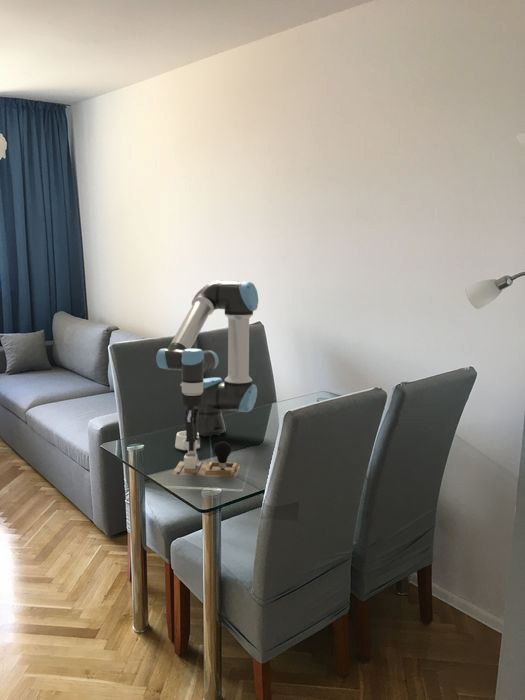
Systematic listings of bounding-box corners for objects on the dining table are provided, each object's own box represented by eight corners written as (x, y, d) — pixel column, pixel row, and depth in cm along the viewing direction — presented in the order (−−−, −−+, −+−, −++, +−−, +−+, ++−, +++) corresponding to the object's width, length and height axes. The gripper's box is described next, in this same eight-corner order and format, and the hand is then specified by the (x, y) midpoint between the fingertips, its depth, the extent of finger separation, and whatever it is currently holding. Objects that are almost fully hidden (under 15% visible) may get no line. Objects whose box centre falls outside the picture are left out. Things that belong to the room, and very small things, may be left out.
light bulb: (211, 470, 205) (211, 442, 204) (218, 465, 210) (218, 438, 209) (226, 473, 203) (227, 444, 201) (233, 468, 208) (233, 440, 207)
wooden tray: (180, 463, 215) (180, 457, 214) (240, 466, 213) (240, 460, 213) (171, 476, 201) (171, 471, 200) (236, 479, 199) (236, 474, 199)
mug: (179, 444, 238) (179, 429, 237) (202, 445, 237) (202, 430, 236) (170, 453, 226) (170, 437, 225) (195, 454, 225) (195, 439, 224)
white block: (186, 464, 210) (186, 452, 210) (197, 465, 210) (197, 452, 209) (183, 468, 206) (183, 455, 206) (195, 469, 206) (195, 456, 206)
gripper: (185, 389, 214) (185, 452, 217) (177, 396, 201) (177, 464, 205) (206, 390, 214) (205, 453, 217) (199, 397, 201) (199, 465, 204)
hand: (191, 458), depth 211 cm, fingers closed
